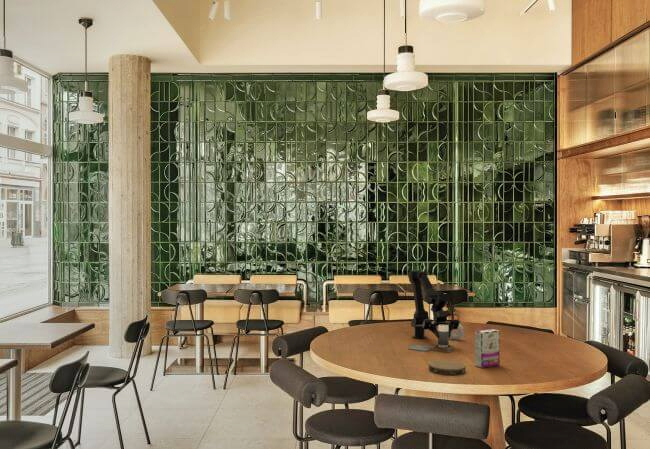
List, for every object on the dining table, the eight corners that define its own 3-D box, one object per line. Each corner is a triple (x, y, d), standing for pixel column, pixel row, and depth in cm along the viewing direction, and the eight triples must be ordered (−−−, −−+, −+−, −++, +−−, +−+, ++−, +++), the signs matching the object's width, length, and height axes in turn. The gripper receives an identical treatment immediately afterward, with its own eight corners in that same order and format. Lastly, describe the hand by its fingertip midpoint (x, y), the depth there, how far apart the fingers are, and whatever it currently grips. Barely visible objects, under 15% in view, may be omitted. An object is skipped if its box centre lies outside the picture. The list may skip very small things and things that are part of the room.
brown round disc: (423, 372, 253) (423, 365, 253) (437, 365, 267) (437, 358, 267) (457, 378, 245) (457, 371, 245) (470, 370, 258) (470, 363, 258)
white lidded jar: (439, 348, 302) (440, 323, 301) (450, 349, 299) (450, 324, 299) (436, 350, 297) (436, 325, 297) (446, 351, 294) (446, 326, 294)
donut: (445, 339, 326) (445, 321, 326) (446, 338, 329) (447, 320, 329) (463, 340, 321) (463, 323, 321) (464, 339, 325) (464, 322, 325)
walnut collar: (437, 347, 304) (437, 343, 304) (454, 349, 299) (454, 345, 299) (431, 350, 296) (431, 346, 296) (448, 352, 292) (448, 348, 292)
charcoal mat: (414, 345, 307) (414, 344, 307) (432, 348, 302) (432, 347, 302) (407, 349, 298) (407, 348, 298) (426, 351, 293) (426, 350, 293)
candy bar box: (492, 363, 270) (492, 328, 270) (499, 365, 266) (500, 330, 266) (474, 365, 265) (474, 330, 265) (481, 368, 261) (482, 332, 261)
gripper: (424, 304, 301) (429, 328, 290) (458, 304, 302) (465, 328, 291) (420, 316, 309) (425, 341, 298) (453, 316, 310) (460, 341, 299)
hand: (444, 337), depth 296 cm, fingers closed on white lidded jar, 6 cm apart
